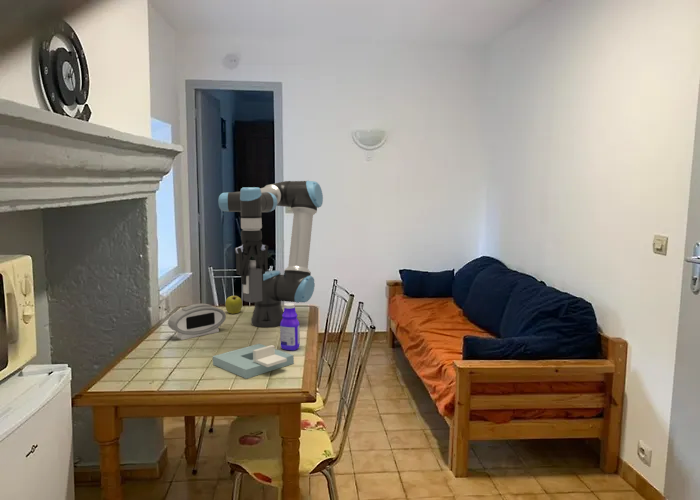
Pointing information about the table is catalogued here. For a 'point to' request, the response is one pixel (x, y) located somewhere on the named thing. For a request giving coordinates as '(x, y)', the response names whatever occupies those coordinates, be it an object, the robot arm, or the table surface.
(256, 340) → the table surface
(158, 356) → the table surface
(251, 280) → the plug
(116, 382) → the table surface
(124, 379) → the table surface
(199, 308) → the alarm clock
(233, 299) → the apple
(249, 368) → the socket plate
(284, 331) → the bottle
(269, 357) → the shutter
